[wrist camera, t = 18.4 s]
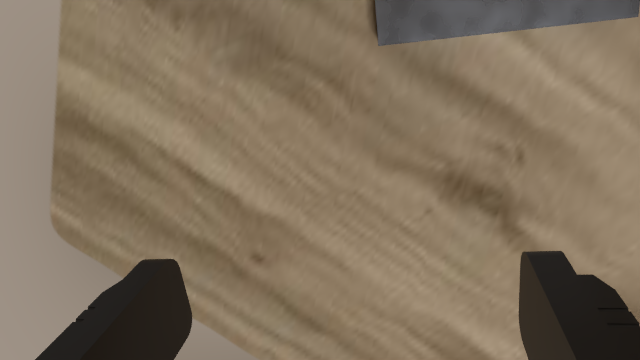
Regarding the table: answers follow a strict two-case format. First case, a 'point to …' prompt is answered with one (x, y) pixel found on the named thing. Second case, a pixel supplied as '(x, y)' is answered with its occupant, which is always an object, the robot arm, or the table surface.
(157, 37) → the table surface
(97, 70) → the table surface
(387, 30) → the mounting plate
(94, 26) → the table surface
